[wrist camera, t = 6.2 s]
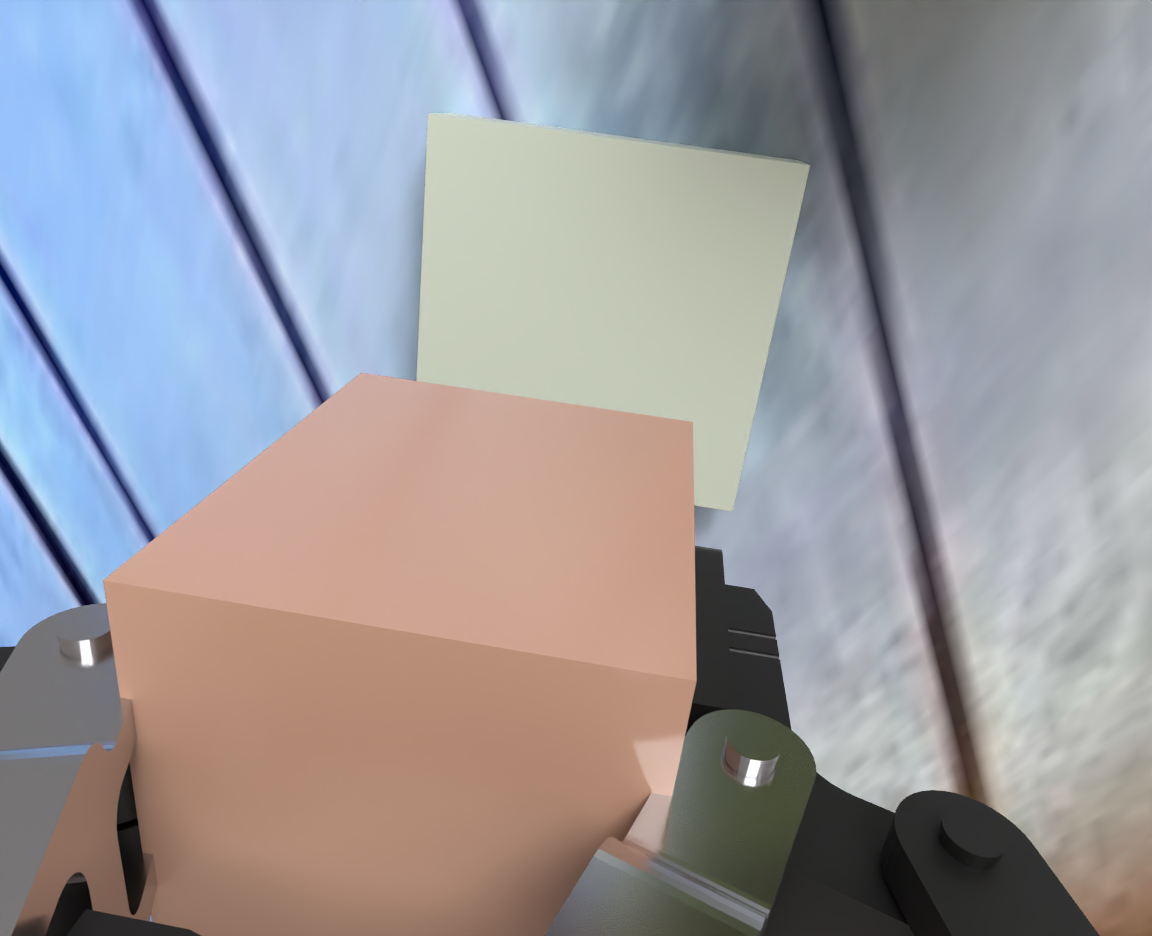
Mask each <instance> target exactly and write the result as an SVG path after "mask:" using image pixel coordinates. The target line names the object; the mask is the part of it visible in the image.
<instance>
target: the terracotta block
mask: <svg viewBox="0 0 1152 936" xmlns="http://www.w3.org/2000/svg"><path fill="white" fill-rule="evenodd" d="M103 583H104V590H105V597H106V604H107V611H108V617H109V624H110V631H111V638H112V645H113V652H114V659H115V666H116V673H117V680H118V687H119V694H120V697H121V698H126V699H132V705H133V712H134V719H135V726H136V734H137V740H136V743H135V746H134V749H133V752H132V755H131V758H130V761H129V763H130V770H131V776H132V783H133V790H134V797H135V804H136V811H137V818H138V825H139V832H140V839H141V846H142V852H143V853H148V854H153V856H154V863H155V870H156V877H157V884H158V887H157V891H156V895H155V899H154V903H153V907H152V911H151V915H152V922H155V923H160V924H165V925H170V926H175V927H180V928H185V929H190V930H192V931H193V932H195V933H197V934H199V935H201V936H544V935H545V934H546V932H547V930H548V929H549V927H550V926H551V924H552V922H553V921H554V919H555V917H556V916H557V914H558V913H559V911H560V909H561V908H562V906H563V905H564V903H565V901H566V900H567V898H568V897H569V895H570V893H571V892H572V890H573V889H574V887H575V885H576V884H577V882H578V880H579V879H580V877H581V876H582V874H583V872H584V871H585V869H586V868H587V866H588V864H589V863H590V861H591V860H592V858H593V856H594V855H595V853H596V852H597V850H598V849H599V847H600V846H601V845H602V844H603V842H604V841H605V840H606V839H608V838H609V837H614V838H616V839H618V840H620V841H623V840H624V839H625V837H626V836H627V834H628V832H629V831H630V829H631V827H632V825H633V824H634V822H635V820H636V819H637V817H638V815H639V814H640V812H641V810H642V809H643V807H644V805H645V804H646V802H647V800H648V798H649V797H650V795H651V793H656V794H662V795H667V796H672V794H673V790H674V785H675V780H676V776H677V771H678V766H679V762H680V757H681V752H682V747H683V743H684V738H685V733H686V729H687V724H688V719H689V715H690V710H691V705H692V700H693V696H694V691H695V686H696V682H697V673H696V601H695V528H694V456H693V422H690V421H683V420H676V419H670V418H663V417H656V416H649V415H643V414H636V413H629V412H622V411H616V410H609V409H602V408H596V407H589V406H582V405H575V404H569V403H562V402H555V401H548V400H542V399H535V398H528V397H521V396H515V395H508V394H501V393H494V392H488V391H481V390H474V389H468V388H461V387H454V386H447V385H441V384H434V383H427V382H420V381H414V380H407V379H400V378H393V377H387V376H380V375H373V374H366V373H360V374H359V375H358V376H356V377H355V378H354V379H353V380H351V381H350V382H349V383H348V384H347V385H345V386H344V387H343V388H342V389H340V390H339V391H338V392H337V393H335V394H334V395H333V396H332V397H330V398H329V399H328V400H327V401H325V402H324V403H323V404H322V405H320V406H319V407H318V408H317V409H315V410H314V411H313V412H312V413H310V414H309V415H308V416H307V417H305V418H304V419H303V420H302V421H301V422H299V423H298V424H297V425H296V426H294V427H293V428H292V429H291V430H289V431H288V432H287V433H286V434H284V435H283V436H282V437H281V438H279V439H278V440H277V441H276V442H274V443H273V444H272V445H271V446H269V447H268V448H267V449H266V450H264V451H263V452H262V453H261V454H259V455H258V456H257V457H256V458H254V459H253V460H252V461H251V462H250V463H248V464H247V465H246V466H245V467H243V468H242V469H241V470H240V471H238V472H237V473H236V474H235V475H233V476H232V477H231V478H230V479H228V480H227V481H226V482H225V483H223V484H222V485H221V486H220V487H218V488H217V489H216V490H215V491H213V492H212V493H211V494H210V495H208V496H207V497H206V498H205V499H204V500H202V501H201V502H200V503H199V504H197V505H196V506H195V507H194V508H192V509H191V510H190V511H189V512H187V513H186V514H185V515H184V516H182V517H181V518H180V519H179V520H177V521H176V522H175V523H174V524H172V525H171V526H170V527H169V528H167V529H166V530H165V531H164V532H162V533H161V534H160V535H159V536H158V537H156V538H155V539H154V540H153V541H151V542H150V543H149V544H148V545H146V546H145V547H144V548H143V549H141V550H140V551H139V552H138V553H136V554H135V555H134V556H133V557H131V558H130V559H129V560H128V561H126V562H125V563H124V564H123V565H121V566H120V567H119V568H118V569H116V570H115V571H114V572H113V573H112V574H110V575H109V576H108V577H107V578H105V579H104V580H103Z"/></svg>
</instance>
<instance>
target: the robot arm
mask: <svg viewBox="0 0 1152 936" xmlns="http://www.w3.org/2000/svg"><path fill="white" fill-rule="evenodd" d="M695 601H696V673H697V682H696V686H695V691H694V696H693V700H692V705H691V710H690V715H689V719H688V724H687V729H686V733H685V738H684V743H683V747H682V752H681V757H680V762H679V766H678V771H677V776H676V780H675V785H674V790H673V794H672V796H667V795H662V794H656V793H651V795H650V797H649V798H648V800H647V802H646V804H645V805H644V807H643V809H642V810H641V812H640V814H639V815H638V817H637V819H636V820H635V822H634V824H633V825H632V827H631V829H630V831H629V832H628V834H627V836H626V837H625V839H624V840H623V841H620V840H618V839H616V838H614V837H609V838H608V839H606V840H605V841H604V842H603V844H602V845H601V846H600V847H599V849H598V850H597V852H596V853H595V855H594V856H593V858H592V860H591V861H590V863H589V864H588V866H587V868H586V869H585V871H584V872H583V874H582V876H581V877H580V879H579V880H578V882H577V884H576V885H575V887H574V889H573V890H572V892H571V893H570V895H569V897H568V898H567V900H566V901H565V903H564V905H563V906H562V908H561V909H560V911H559V913H558V914H557V916H556V917H555V919H554V921H553V922H552V924H551V926H550V927H549V929H548V930H547V932H546V934H545V935H544V936H1099V934H1098V933H1097V932H1096V930H1095V929H1094V927H1093V926H1092V925H1091V923H1090V922H1089V921H1088V919H1087V918H1086V916H1085V915H1084V914H1083V912H1082V911H1081V910H1080V908H1079V907H1078V906H1077V904H1076V903H1075V901H1074V900H1073V899H1072V897H1071V896H1070V895H1069V893H1068V892H1067V890H1066V889H1065V888H1064V886H1063V885H1062V884H1061V882H1060V881H1059V880H1058V878H1057V877H1056V875H1055V874H1054V873H1053V871H1052V870H1051V869H1050V867H1049V866H1048V864H1047V863H1046V862H1045V860H1044V859H1043V858H1042V856H1041V855H1040V854H1039V852H1038V851H1037V849H1036V848H1035V847H1034V845H1033V844H1032V843H1031V842H1030V840H1029V839H1028V838H1027V837H1026V836H1025V834H1024V833H1023V832H1022V831H1021V830H1020V829H1018V828H1017V827H1016V826H1015V825H1014V824H1013V823H1012V822H1010V821H1009V820H1008V819H1007V818H1005V817H1004V816H1003V815H1001V814H1000V813H998V812H997V811H995V810H994V809H992V808H990V807H988V806H986V805H984V804H983V803H981V802H978V801H976V800H974V799H971V798H969V797H966V796H963V795H959V794H956V793H951V792H946V791H935V790H931V791H921V792H917V793H914V794H912V795H910V796H908V797H906V798H905V799H904V800H903V801H902V802H901V803H900V804H899V806H898V808H897V809H896V812H895V813H893V812H891V811H889V810H886V809H884V808H882V807H879V806H877V805H874V804H872V803H870V802H867V801H865V800H863V799H860V798H858V797H855V796H853V795H851V794H849V793H847V792H845V791H843V790H841V789H840V788H838V787H836V786H834V785H833V784H831V783H830V782H828V781H827V780H826V779H824V778H823V777H822V776H820V775H819V774H818V773H817V772H816V764H815V761H814V758H813V755H812V754H811V752H810V750H809V748H808V747H807V745H806V744H805V743H804V741H803V740H802V739H801V738H800V737H799V736H798V735H797V734H796V733H794V732H793V731H792V730H791V725H790V719H789V713H788V707H787V701H786V694H785V688H784V682H783V676H782V670H781V664H780V660H778V658H779V652H778V646H777V640H775V637H776V634H775V628H774V622H773V615H772V611H771V610H770V609H769V608H768V606H767V605H766V604H765V602H764V601H763V600H762V599H761V597H760V596H759V595H758V594H757V592H756V591H755V590H754V589H750V588H744V587H737V586H731V585H725V581H724V568H723V554H722V550H718V549H712V548H706V547H699V546H695ZM136 740H137V734H136V726H135V719H134V712H133V705H132V699H126V698H121V697H120V694H119V687H118V680H117V673H116V666H115V659H114V652H113V645H112V638H111V631H110V624H109V617H108V611H107V604H106V603H105V604H93V605H86V606H81V607H77V608H73V609H69V610H66V611H63V612H60V613H57V614H55V615H53V616H50V617H48V618H46V619H45V620H43V621H41V622H39V623H38V624H36V625H35V626H33V627H32V628H31V629H29V630H28V631H27V632H26V633H25V634H24V635H23V637H22V638H21V639H20V641H19V642H18V644H17V645H16V646H15V647H0V936H201V935H199V934H197V933H195V932H193V931H192V930H190V929H185V928H180V927H175V926H170V925H165V924H160V923H155V922H150V921H149V919H150V915H151V911H152V907H153V903H154V899H155V895H156V891H157V887H158V884H157V877H156V870H155V863H154V856H153V854H148V853H143V852H142V846H141V839H140V832H139V825H138V818H137V811H136V804H135V797H134V790H133V783H132V776H131V770H130V763H129V761H130V758H131V755H132V752H133V749H134V746H135V743H136Z"/></svg>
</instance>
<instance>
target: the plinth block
mask: <svg viewBox="0 0 1152 936" xmlns="http://www.w3.org/2000/svg"><path fill="white" fill-rule="evenodd" d="M809 169H810V165H808V164H806V163H804V162H802V161H800V160H794V159H787V158H780V157H772V156H765V155H757V154H750V153H743V152H735V151H728V150H721V149H713V148H706V147H699V146H691V145H684V144H677V143H669V142H662V141H654V140H647V139H640V138H632V137H625V136H618V135H610V134H603V133H596V132H588V131H581V130H574V129H566V128H559V127H551V126H544V125H537V124H529V123H522V122H515V121H507V120H500V119H493V118H485V117H478V116H471V115H463V114H456V113H428V126H427V149H426V172H425V196H424V219H423V242H422V265H421V288H420V311H419V334H418V357H417V380H416V381H420V382H427V383H434V384H441V385H447V386H454V387H461V388H468V389H474V390H481V391H488V392H494V393H501V394H508V395H515V396H521V397H528V398H535V399H542V400H548V401H555V402H562V403H569V404H575V405H582V406H589V407H596V408H602V409H609V410H616V411H622V412H629V413H636V414H643V415H649V416H656V417H663V418H670V419H676V420H683V421H690V422H693V456H694V505H695V506H701V507H707V508H714V509H720V510H726V511H732V512H733V507H734V503H735V498H736V494H737V490H738V485H739V481H740V476H741V472H742V467H743V463H744V458H745V454H746V449H747V445H748V441H749V436H750V432H751V427H752V423H753V418H754V414H755V409H756V405H757V400H758V396H759V392H760V387H761V383H762V378H763V374H764V369H765V365H766V360H767V356H768V351H769V347H770V343H771V338H772V334H773V329H774V325H775V320H776V316H777V311H778V307H779V302H780V298H781V294H782V289H783V285H784V280H785V276H786V271H787V267H788V262H789V258H790V253H791V249H792V245H793V240H794V236H795V231H796V227H797V222H798V218H799V213H800V209H801V204H802V200H803V196H804V191H805V187H806V182H807V178H808V173H809Z"/></svg>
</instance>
